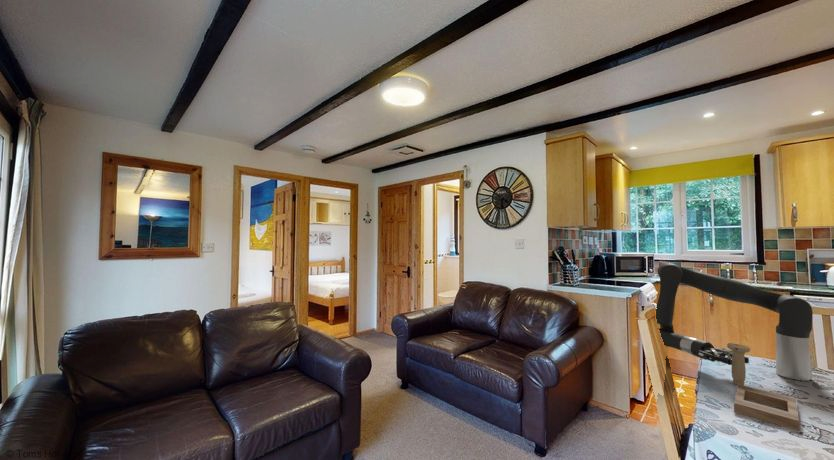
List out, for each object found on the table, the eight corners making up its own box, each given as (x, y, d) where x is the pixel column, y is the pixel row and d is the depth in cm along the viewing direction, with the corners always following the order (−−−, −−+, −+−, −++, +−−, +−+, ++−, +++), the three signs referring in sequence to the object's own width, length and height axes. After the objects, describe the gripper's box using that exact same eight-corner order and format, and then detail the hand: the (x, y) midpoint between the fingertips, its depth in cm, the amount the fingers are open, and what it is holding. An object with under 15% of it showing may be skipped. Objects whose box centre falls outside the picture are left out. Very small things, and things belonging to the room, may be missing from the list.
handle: (747, 389, 124) (747, 349, 124) (725, 382, 129) (725, 344, 129) (751, 386, 126) (751, 347, 126) (729, 379, 132) (729, 342, 132)
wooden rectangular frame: (738, 392, 121) (738, 384, 121) (795, 407, 111) (795, 398, 111) (734, 411, 108) (734, 402, 108) (799, 430, 98) (799, 420, 98)
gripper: (683, 340, 142) (725, 353, 126) (709, 337, 145) (753, 350, 129) (683, 357, 142) (726, 372, 126) (709, 354, 145) (753, 369, 129)
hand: (739, 361), depth 127 cm, fingers open, 8 cm apart
